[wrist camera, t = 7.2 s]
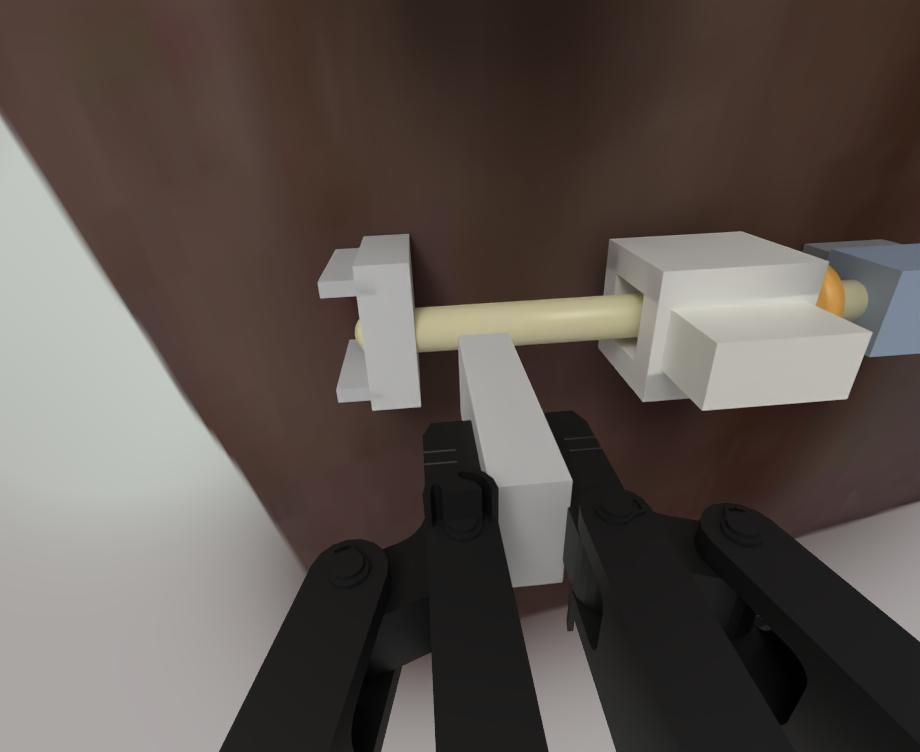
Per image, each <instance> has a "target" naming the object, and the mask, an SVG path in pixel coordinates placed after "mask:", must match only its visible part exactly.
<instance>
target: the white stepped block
mask: <svg viewBox="0 0 920 752" xmlns="http://www.w3.org/2000/svg"><path fill="white" fill-rule="evenodd" d="M828 264H829V261H827V260H824V259H821V258H818V257H815V256H812V255H809V254H806V253H803V252H800V251H797V250H794V249H791V248H788V247H786V246H783V245H780V244H777V243H774V242H771V241H768V240H765V239H762V238H759V237H756V236H753V235H750V234H748V233H745V232H742V231H739V232H722V233H704V234H687V235H669V236H652V237H634V238H616V239H609V247H608V257H607V266H606V276H605V285H604V295H603V296H605V295H620V294H636V293H643V294H644V299H643V306H642V313H641V319H640V326H639V333H638V337H632V338H618V339H604V340H599V343H598V348H599V349H600V351H601V352H602V353H603V354H604V356H605V357H606V358H607V359H608V360H609V362H610V363H611V364H612V365H613V366H614V368H615V369H616V370H617V371H618V373H619V374H620V375H621V376H622V377H623V379H624V380H625V381H626V382H627V383H628V385H629V386H630V387H631V388H632V390H633V391H634V392H635V393H636V394H637V396H638V397H639V398H640V399H641V400H642V402H651V401H663V400H676V399H689V398H690V399H691V400H692V401H693V402H694V403H695V404H696V405H697V406H698V407H699V408H700V409H701V410H702V411H706V410H718V409H731V408H743V407H755V406H768V405H780V404H792V403H805V402H817V401H829V400H842V399H847V398H848V396H849V393H850V390H851V388H852V385H853V383H854V380H855V377H856V375H857V372H858V370H859V367H860V364H861V362H862V359H863V356H864V354H865V351H866V349H867V346H868V343H869V341H870V338H871V336H872V333H873V332H871V331H869V330H867V329H865V328H863V327H860V326H858V325H856V324H854V323H852V322H850V321H847V320H845V319H843V318H841V317H839V316H837V315H834V314H832V313H830V312H828V311H826V310H824V309H822V308H819V307H817V306H816V302H817V299H818V296H819V293H820V290H821V287H822V283H823V280H824V277H825V274H826V271H827V268H828Z"/></svg>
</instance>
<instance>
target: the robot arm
mask: <svg viewBox="0 0 920 752" xmlns="http://www.w3.org/2000/svg"><path fill="white" fill-rule="evenodd" d="M458 354H459V380H460V405H461V418H462V421H453V422H440V423H431V424H430V426H429V427H428V429H427V431H426V432H425V434H424V436H423V448H424V470H425V488H424V492H423V503H424V513H425V519H424V521H423V523H422V525H421V527H420V528H419V529H418V530H417V531H416V533H414V534H413V535H412V536H410V537H409V538H408V539H406V540H404V541H402V542H400V543H398V544H395V545H393V546H390V547H387V548H385V549H381V548H380V547H379V546H378V545H376V544H375V543H373V542H369V541H366V540H362V539H358V540H346V541H343V542H340V543H338V544H335V545H332V546H331V547H329V548H328V549H327V550H325V551H324V552H322V553H321V554H320V555H319V556H318V557H317V559H316V560H315V561H314V563H313V564H312V566H311V567H310V569H309V571H308V573H307V575H306V577H305V579H304V581H303V583H302V585H301V587H300V589H299V592H298V593H297V596H296V598H295V600H294V602H293V604H292V606H291V608H290V610H289V612H288V614H287V616H286V618H285V620H284V622H283V624H282V626H281V628H280V630H279V632H278V634H277V636H276V638H275V640H274V642H273V644H272V646H271V648H270V650H269V652H268V654H267V656H266V658H265V660H264V662H263V664H262V666H261V668H260V670H259V672H258V674H257V676H256V678H255V680H254V682H253V685H252V687H251V688H250V690H249V693H248V695H247V696H246V699H245V701H244V702H243V704H242V707H241V709H240V711H239V713H238V715H237V717H236V719H235V721H234V723H233V725H232V727H231V729H230V731H229V733H228V735H227V737H226V739H225V741H224V743H223V745H222V747H221V749H220V751H219V752H381V749H382V745H383V741H384V737H385V733H386V729H387V725H388V721H389V717H390V713H391V709H392V705H393V701H394V697H395V693H396V689H397V684H398V681H399V677H400V673H401V669H402V666H403V665H405V664H407V663H409V662H411V661H413V660H415V659H418V658H420V657H422V656H424V655H426V654H428V653H431V652H432V673H433V695H434V718H435V741H436V752H548V747H547V743H546V738H545V733H544V729H543V725H542V720H541V715H540V711H539V706H538V701H537V697H536V692H535V687H534V683H533V678H532V674H531V669H530V665H529V660H528V655H527V651H526V646H525V642H524V637H523V633H522V628H521V623H520V619H519V614H518V610H517V605H516V600H515V596H514V591H513V587H522V586H532V585H542V584H552V583H562V582H563V572H564V565H565V568H566V571H567V574H568V577H569V580H570V583H571V586H570V595H569V604H568V614H567V630H568V631H573V626H574V620H575V623H576V626H577V629H578V632H579V636H580V639H581V642H582V645H583V648H584V651H585V654H586V658H587V661H588V664H589V667H590V670H591V673H592V676H593V680H594V683H595V686H596V689H597V692H598V695H599V699H600V702H601V704H602V708H603V711H604V714H605V717H606V720H607V724H608V727H609V730H610V733H611V736H612V739H613V743H614V746H615V749H616V752H920V642H919V641H918V640H917V639H916V638H914V637H913V636H912V635H911V634H910V633H908V632H907V631H906V630H905V629H903V628H902V627H901V626H900V625H898V624H897V623H896V622H895V621H894V620H892V619H891V618H890V617H889V616H888V615H886V614H885V613H884V612H883V611H881V610H880V609H879V608H878V607H876V606H875V605H874V604H873V603H872V602H870V601H869V600H868V599H867V598H866V597H864V596H863V595H862V594H861V593H860V592H858V591H857V590H856V589H855V588H853V587H852V586H851V585H850V584H849V583H847V582H846V581H845V580H844V579H842V578H841V577H840V576H839V575H837V574H836V573H835V572H834V571H833V570H831V569H830V568H829V567H828V566H827V565H825V564H824V563H823V562H822V561H820V560H819V559H818V558H817V557H816V556H814V555H813V554H812V553H811V552H809V551H808V550H807V549H806V548H805V547H803V546H802V545H801V544H800V543H798V542H797V541H796V540H795V539H794V538H792V537H791V536H790V535H789V534H788V533H786V532H785V531H784V530H783V529H781V528H780V527H779V526H778V525H777V524H775V523H774V522H773V521H772V520H770V519H769V518H767V517H766V516H764V515H763V514H761V513H759V512H758V511H756V510H753V509H750V508H748V507H745V506H742V505H737V504H730V503H721V504H714V505H712V506H710V507H708V508H706V509H705V510H704V511H703V513H702V515H701V518H700V521H697V520H691V519H684V518H678V517H671V516H666V515H662V514H658V513H655V512H653V511H652V509H651V508H650V506H649V505H648V504H647V503H646V502H645V501H644V500H643V499H642V498H641V497H639V496H637V495H636V494H634V493H632V492H630V491H627V490H625V489H624V487H623V486H622V484H621V482H620V480H619V478H618V477H617V475H616V473H615V471H614V470H613V468H612V466H611V464H610V462H609V461H608V459H607V457H606V455H605V453H604V452H603V450H602V449H601V448H600V445H599V443H598V441H597V439H596V438H594V434H593V432H592V430H591V428H590V427H589V425H588V423H587V421H585V420H584V419H583V418H581V417H580V416H579V415H577V414H576V413H575V412H573V411H561V412H548V413H543V411H542V409H541V407H540V404H539V402H538V400H537V397H536V395H535V393H534V390H533V388H532V386H531V384H530V381H529V379H528V377H527V374H526V372H525V370H524V367H523V365H522V363H521V361H520V358H519V356H518V354H517V351H516V349H515V347H514V344H513V342H512V340H511V338H510V335H509V333H508V332H507V333H492V334H478V335H463V336H458Z"/></svg>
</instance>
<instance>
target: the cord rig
mask: <svg viewBox="0 0 920 752" xmlns="http://www.w3.org/2000/svg"><path fill="white" fill-rule="evenodd" d="M802 252H803V253H806V254H809V255H812V256H815V257H818V258H821V259H824V260H827V261H829V264H828V268H827V271H826V274H825V277H824V280H823V283H822V287H821V290H820V293H819V296H818V299H817V302H816V306H817V307H819V308H822V309H824V310H826V311H828V312H830V313H832V314H834V315H837V316H839V317H841V318H843V319H845V320H847V321H850V322H852V323H854V324H856V325H858V326H860V327H863V328H865V329H867V330H869V331H871V332H873V333H872V336H871V338H870V341H869V343H868V346H867V349H866V351H865V354H864V355H866V356H868V357H878V356H891V355H905V354H918V353H920V243H919V244H903V245H902V244H899V243H895V242H891V241H887V240H883V239H877V240H861V241H844V242H827V243H810V244H804V247H803V250H802ZM318 288H319V294H320V298H334V297H350V296H357V303H358V310H359V318H360V319H359V320H358V322H357V324H356V327H355V338H356V339H355V340H349V344H348V348H347V351H346V355H345V359H344V363H343V366H342V370H341V374H340V378H339V381H338V385H337V389H336V391H337V397H338V403H341V402H354V401H367V400H371V404H372V411H375V410H388V409H401V408H414V407H421V392H420V369H419V352H433V351H448V350H458V336H463V335H478V334H492V333H507V332H508V333H509V335H510V338H511V340H512V342H513V344H514V346H519V345H533V344H547V343H561V342H576V341H590V340H604V339H618V338H632V337H638V333H639V326H640V319H641V313H642V306H643V299H644V294H643V293H636V294H620V295H605V296H589V297H574V298H558V299H543V300H527V301H512V302H496V303H481V304H465V305H450V306H434V307H419V308H415V301H414V289H413V277H412V264H411V252H410V240H409V234H397V235H378V236H364V237H363V240H362V242H361V245H360V248H350V249H336V250H335V252H334V253H333V255H332V257H331V259H330V261H329V262H328V264H327V266H326V268H325V270H324V271H323V273H322V275H321V277H320V279H319V280H318Z"/></svg>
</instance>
